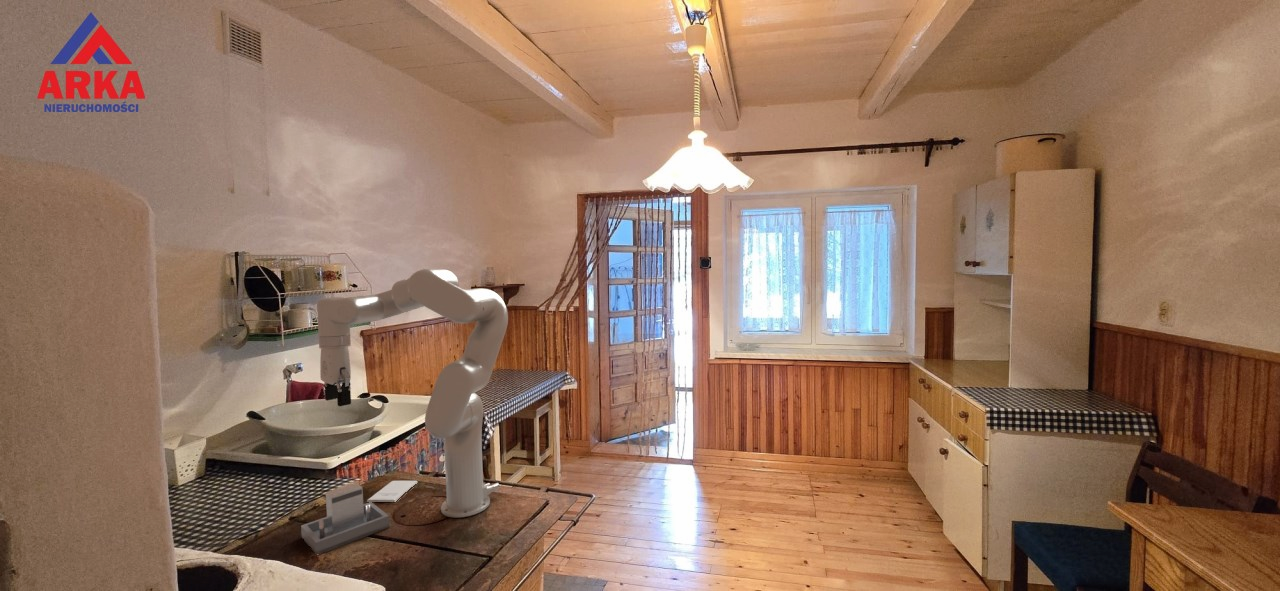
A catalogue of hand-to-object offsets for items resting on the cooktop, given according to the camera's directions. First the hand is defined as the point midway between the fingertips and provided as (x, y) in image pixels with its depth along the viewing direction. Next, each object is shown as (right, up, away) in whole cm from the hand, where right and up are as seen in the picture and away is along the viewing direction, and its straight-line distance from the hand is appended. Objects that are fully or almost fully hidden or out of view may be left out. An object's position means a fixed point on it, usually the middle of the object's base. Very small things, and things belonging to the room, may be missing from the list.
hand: (338, 402), depth 140 cm
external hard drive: (+13, -29, +6) cm, 32 cm away
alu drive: (+12, -28, -16) cm, 34 cm away
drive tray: (+12, -29, -16) cm, 35 cm away
